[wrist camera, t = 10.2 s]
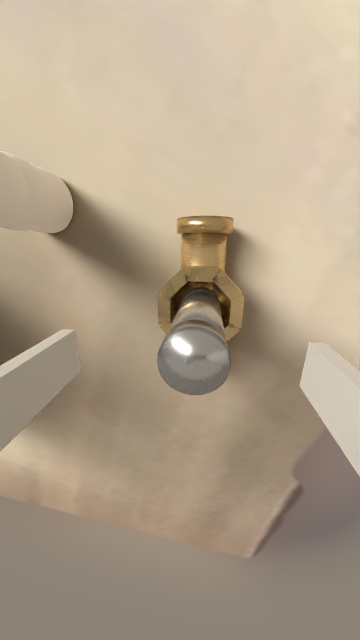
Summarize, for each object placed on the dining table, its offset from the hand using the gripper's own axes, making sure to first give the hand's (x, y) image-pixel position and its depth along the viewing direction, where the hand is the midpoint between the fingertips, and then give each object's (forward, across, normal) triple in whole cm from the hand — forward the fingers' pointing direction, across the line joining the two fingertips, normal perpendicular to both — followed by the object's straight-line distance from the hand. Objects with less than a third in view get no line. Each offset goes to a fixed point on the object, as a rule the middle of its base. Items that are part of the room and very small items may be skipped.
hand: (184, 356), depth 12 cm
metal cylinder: (+12, +1, 0) cm, 12 cm away
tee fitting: (+18, +1, 0) cm, 18 cm away
